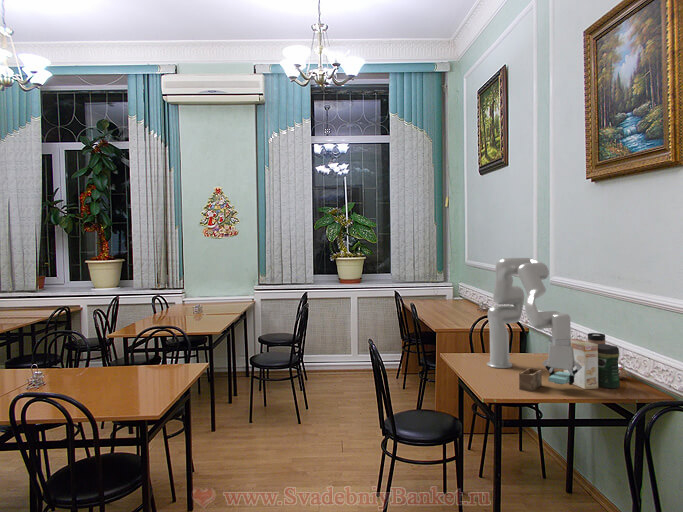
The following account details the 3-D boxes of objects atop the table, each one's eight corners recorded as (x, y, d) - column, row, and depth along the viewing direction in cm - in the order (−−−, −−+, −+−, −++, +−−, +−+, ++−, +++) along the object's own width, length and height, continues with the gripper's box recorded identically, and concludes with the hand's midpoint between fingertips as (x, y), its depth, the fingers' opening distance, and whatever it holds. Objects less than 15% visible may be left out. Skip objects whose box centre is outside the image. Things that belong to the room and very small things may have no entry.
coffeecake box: (599, 388, 218) (598, 344, 217) (584, 389, 216) (584, 345, 216) (577, 379, 232) (576, 338, 232) (563, 380, 231) (562, 338, 231)
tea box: (529, 383, 227) (529, 368, 227) (541, 385, 224) (541, 369, 224) (519, 389, 218) (519, 373, 218) (532, 391, 215) (532, 375, 215)
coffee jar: (623, 387, 218) (623, 345, 217) (610, 389, 215) (609, 347, 215) (604, 382, 227) (604, 341, 227) (591, 384, 224) (591, 343, 224)
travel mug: (605, 374, 240) (604, 333, 240) (606, 378, 233) (605, 336, 233) (587, 373, 243) (587, 332, 243) (588, 376, 236) (587, 335, 236)
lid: (558, 377, 223) (558, 371, 223) (574, 379, 219) (574, 373, 219) (548, 383, 213) (548, 377, 213) (565, 385, 209) (565, 379, 209)
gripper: (537, 341, 219) (538, 381, 219) (580, 345, 207) (581, 387, 208) (543, 338, 224) (544, 378, 225) (585, 342, 213) (585, 384, 213)
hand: (562, 382), depth 216 cm, fingers closed on lid, 7 cm apart
